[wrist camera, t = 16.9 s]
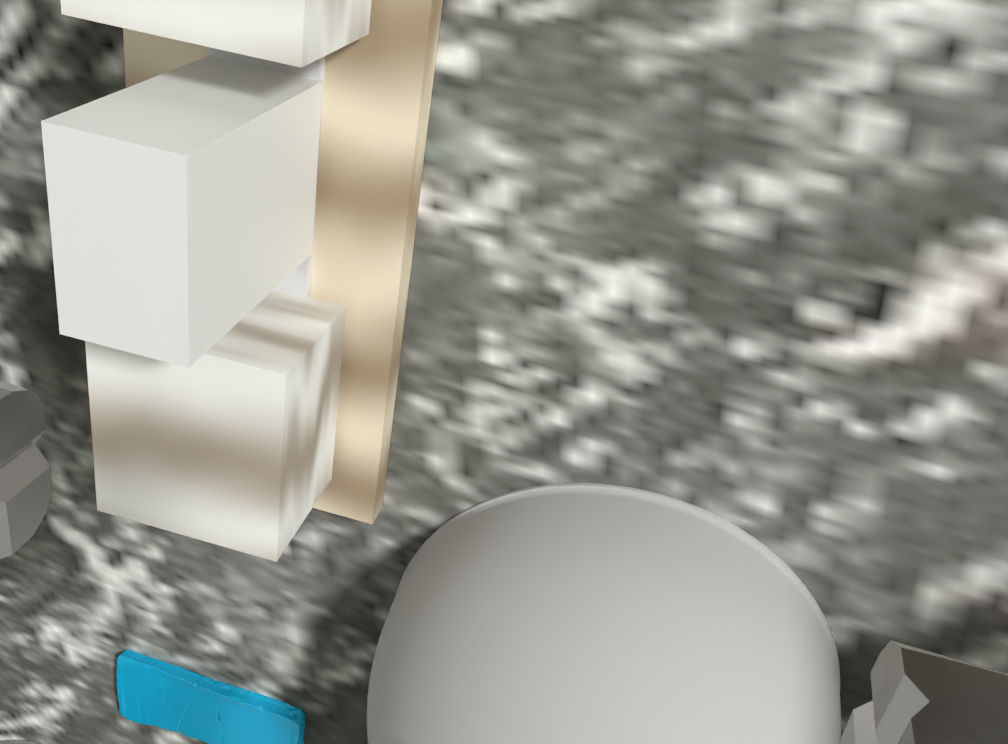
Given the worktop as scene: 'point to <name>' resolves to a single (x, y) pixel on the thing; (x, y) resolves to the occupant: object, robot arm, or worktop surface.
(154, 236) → the block
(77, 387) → the worktop surface
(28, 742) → the mate gourd
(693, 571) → the kettle
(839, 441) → the worktop surface
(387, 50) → the rail board
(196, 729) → the sponge
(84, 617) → the worktop surface
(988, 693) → the robot arm
